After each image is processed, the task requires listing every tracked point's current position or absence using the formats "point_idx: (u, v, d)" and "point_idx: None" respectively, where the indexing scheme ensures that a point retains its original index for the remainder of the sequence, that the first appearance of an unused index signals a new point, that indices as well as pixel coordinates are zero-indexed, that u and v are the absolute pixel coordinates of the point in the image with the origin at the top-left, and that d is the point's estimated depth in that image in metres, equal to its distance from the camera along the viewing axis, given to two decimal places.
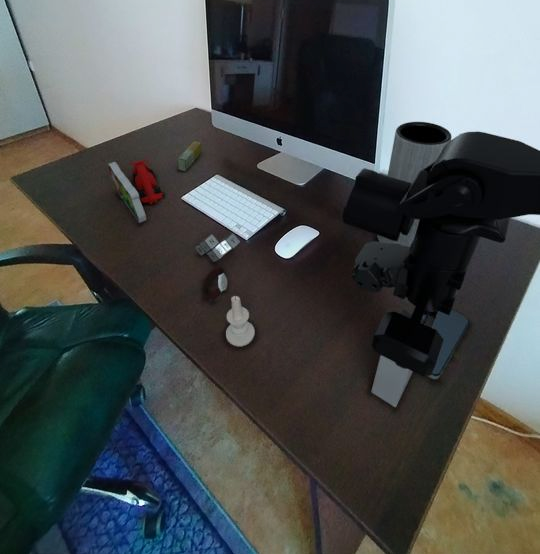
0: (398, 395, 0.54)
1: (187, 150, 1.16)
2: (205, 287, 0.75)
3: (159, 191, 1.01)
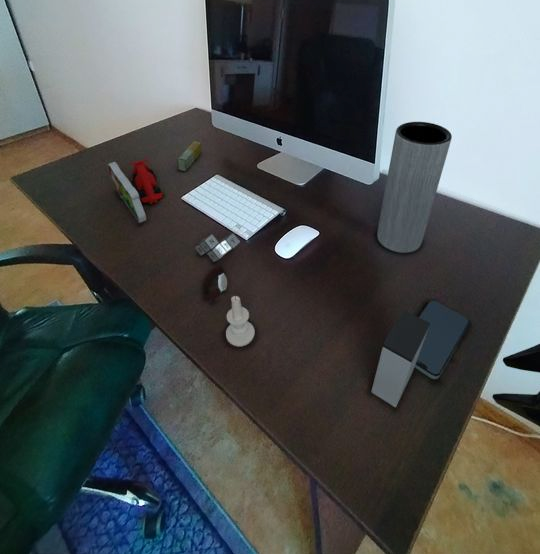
0: (398, 395, 0.54)
1: (187, 150, 1.16)
2: (205, 287, 0.75)
3: (159, 191, 1.01)
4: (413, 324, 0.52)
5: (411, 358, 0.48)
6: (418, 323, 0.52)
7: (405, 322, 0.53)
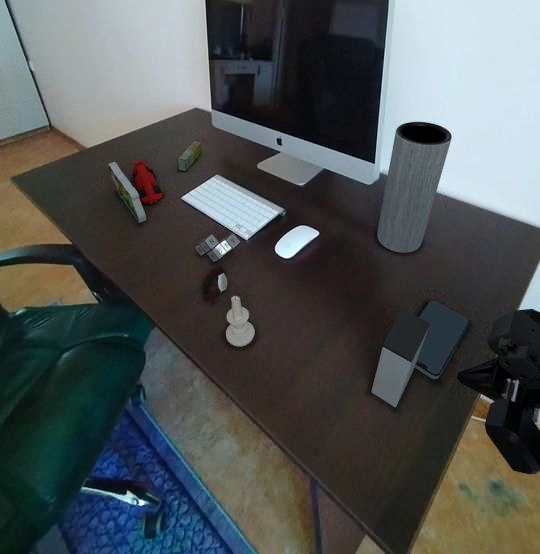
0: (398, 395, 0.54)
1: (187, 150, 1.16)
2: (205, 287, 0.75)
3: (159, 191, 1.01)
4: (413, 324, 0.52)
5: (411, 358, 0.48)
6: (418, 323, 0.52)
7: (405, 322, 0.53)
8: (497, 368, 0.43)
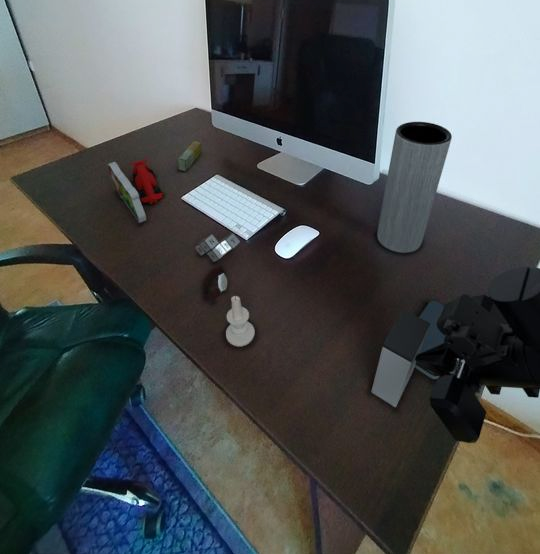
0: (398, 395, 0.54)
1: (187, 150, 1.16)
2: (205, 287, 0.75)
3: (159, 191, 1.01)
4: (413, 324, 0.52)
5: (411, 358, 0.48)
6: (418, 323, 0.52)
7: (405, 322, 0.53)
8: (447, 348, 0.46)
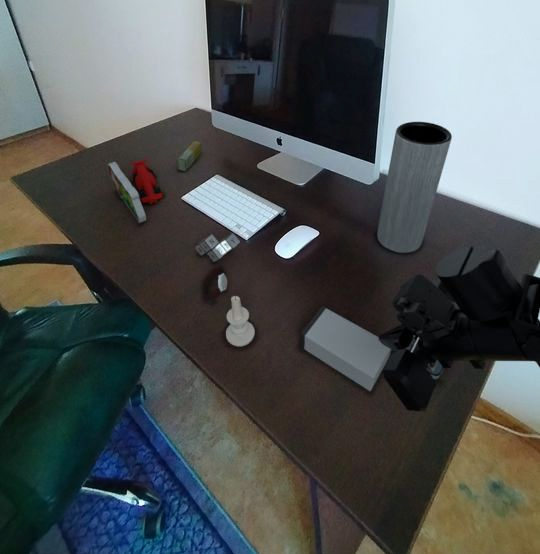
0: (352, 365, 0.57)
1: (187, 150, 1.16)
2: (205, 287, 0.75)
3: (159, 191, 1.01)
4: None
5: (301, 333, 0.62)
6: None
7: None
8: (404, 326, 0.49)
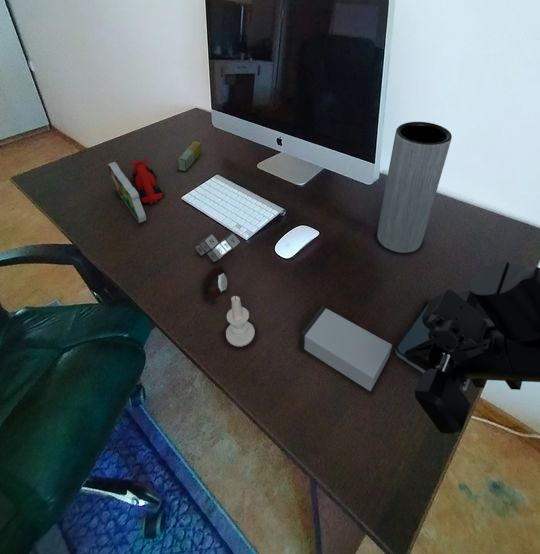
0: (352, 365, 0.57)
1: (187, 150, 1.16)
2: (205, 287, 0.75)
3: (159, 191, 1.01)
4: None
5: (301, 333, 0.62)
6: None
7: None
8: (433, 343, 0.47)
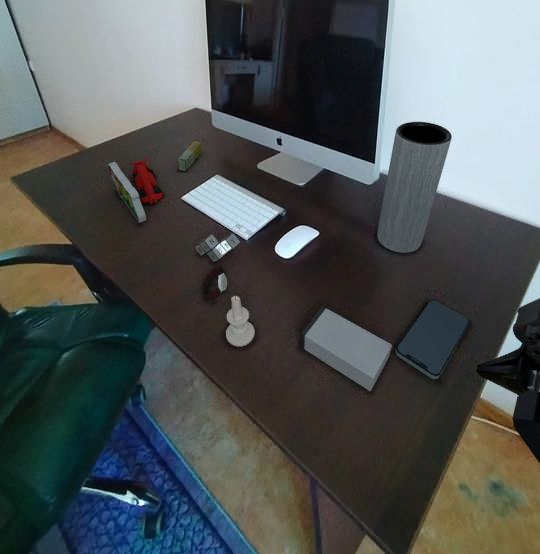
0: (352, 365, 0.57)
1: (187, 150, 1.16)
2: (205, 287, 0.75)
3: (159, 191, 1.01)
4: None
5: (301, 333, 0.62)
6: None
7: None
8: (522, 359, 0.40)
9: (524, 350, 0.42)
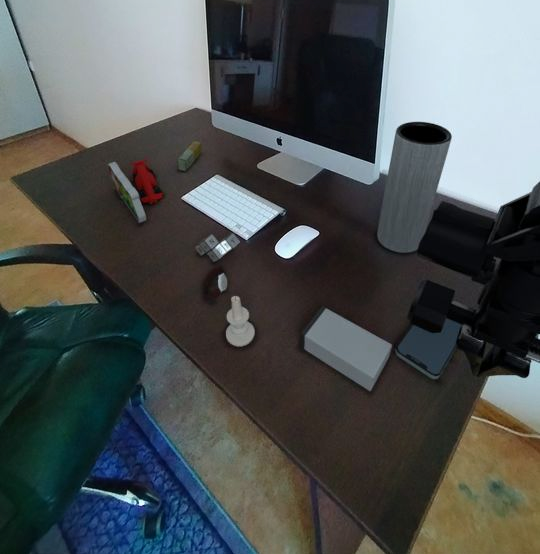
0: (352, 365, 0.57)
1: (187, 150, 1.16)
2: (205, 287, 0.75)
3: (159, 191, 1.01)
4: None
5: (301, 333, 0.62)
6: None
7: None
8: None
9: None
